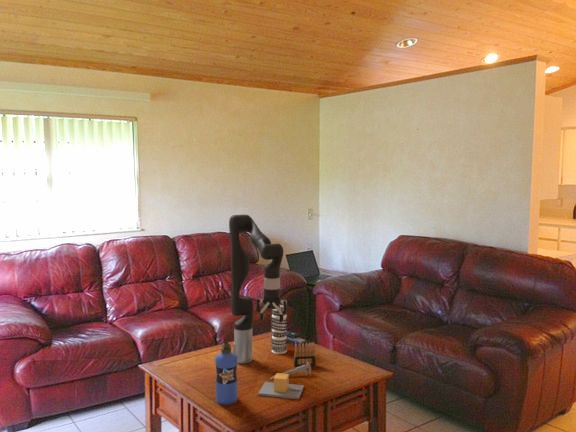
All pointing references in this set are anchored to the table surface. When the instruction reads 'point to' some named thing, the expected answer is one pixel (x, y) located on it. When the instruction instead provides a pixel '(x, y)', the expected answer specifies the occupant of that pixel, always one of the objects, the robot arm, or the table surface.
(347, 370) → the table surface
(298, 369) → the caliper
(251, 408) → the table surface
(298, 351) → the ammunition clip
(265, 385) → the post board
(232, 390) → the water bottle
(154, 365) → the table surface
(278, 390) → the mustard yellow cube
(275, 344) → the decorative candle
